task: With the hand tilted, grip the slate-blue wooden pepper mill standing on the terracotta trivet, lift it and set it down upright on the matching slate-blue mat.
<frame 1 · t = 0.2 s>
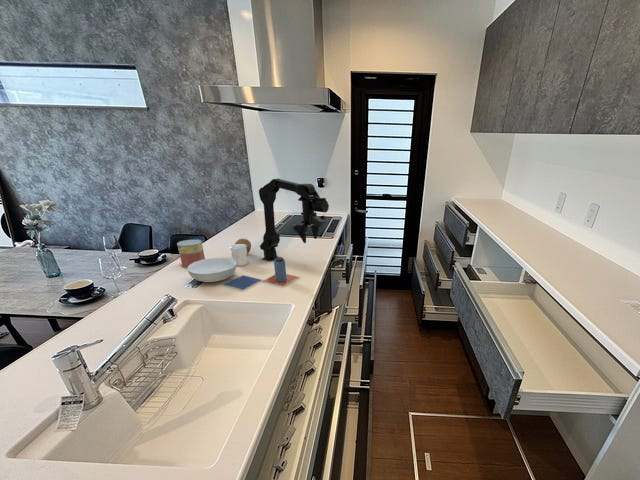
hand: (310, 240, 156), 15 cm above the counter, tool pointing down, fingers open, 9 cm apart
terracotta trivet: (281, 279, 146), on the counter
white cup: (241, 264, 164), on the counter
natural sponge: (244, 255, 176), on the counter
blue mill: (281, 280, 144), resting on terracotta trivet
canned food: (194, 264, 162), on the counter
serving bowl: (215, 278, 146), on the counter
blue mat: (243, 283, 141), on the counter
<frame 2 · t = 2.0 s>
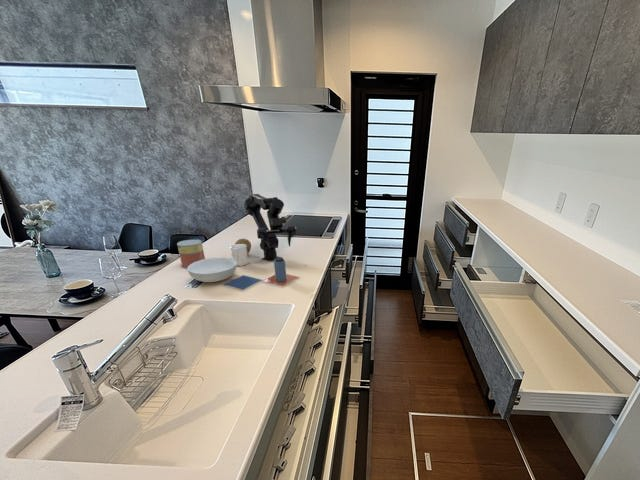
hand: (280, 246, 149), 13 cm above the counter, tool tilted 45°, fingers open, 9 cm apart
nothing on the counter moved.
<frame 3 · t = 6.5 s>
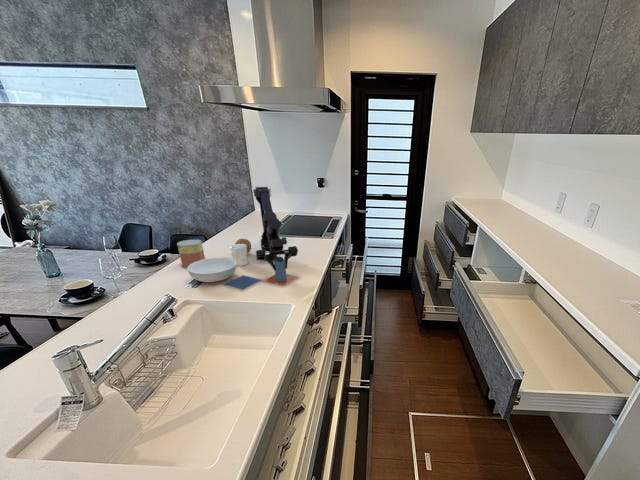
hand: (280, 269, 141), 7 cm above the counter, tool tilted 45°, fingers closed on blue mill, 5 cm apart
blue mill: (281, 280, 144), point 1 cm above the counter, touching gripper, terracotta trivet
everything else where it was.
when the fingers open (7 cm above the counter, at t = 13.8 s): blue mill stays where it is, resting on blue mat.
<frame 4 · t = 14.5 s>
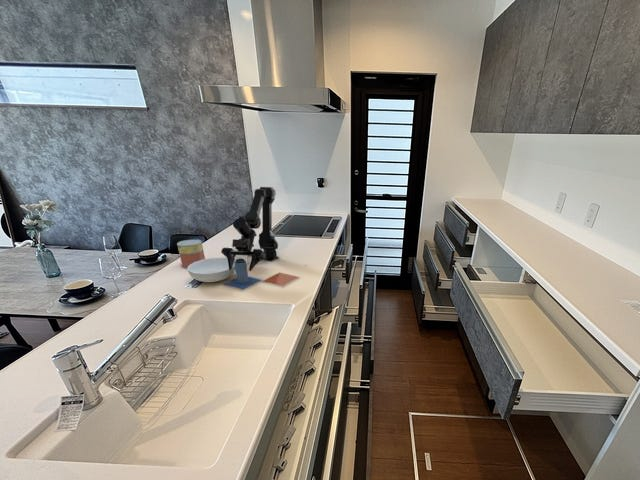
hand: (239, 270, 137), 7 cm above the counter, tool tilted 45°, fingers open, 9 cm apart
blue mill: (243, 282, 141), resting on blue mat
everything else where it was.
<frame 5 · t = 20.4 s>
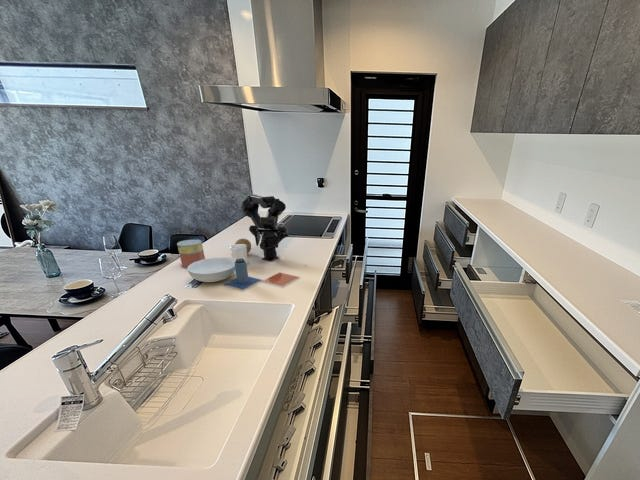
hand: (266, 246, 150), 14 cm above the counter, tool tilted 45°, fingers open, 9 cm apart
nothing on the counter moved.
at the end: blue mill inside the target area on the blue mat (0.0 cm from its centre), point 0.5 cm above the blue mat's base; blue mill tilted 0°; blue mill touching blue mat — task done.
